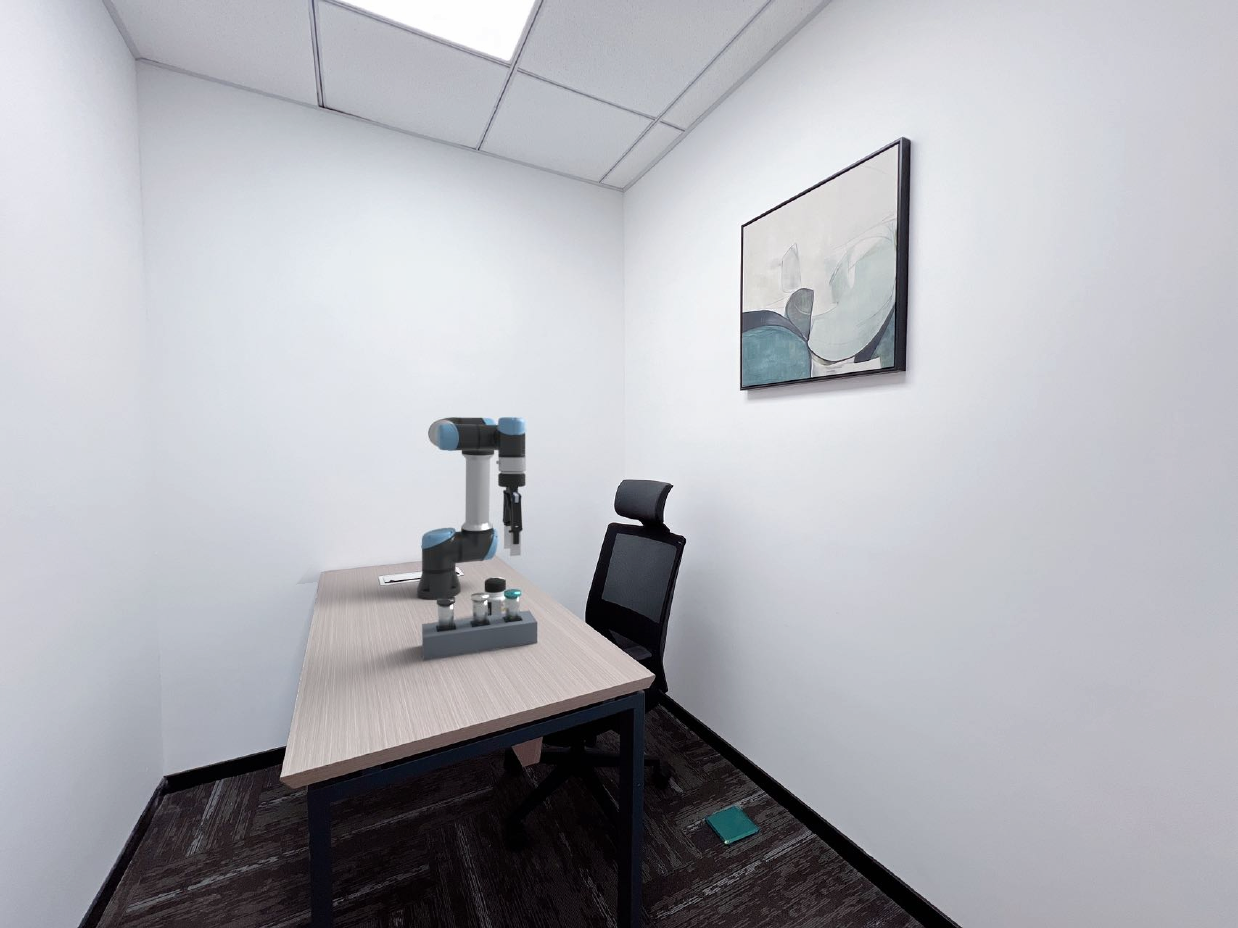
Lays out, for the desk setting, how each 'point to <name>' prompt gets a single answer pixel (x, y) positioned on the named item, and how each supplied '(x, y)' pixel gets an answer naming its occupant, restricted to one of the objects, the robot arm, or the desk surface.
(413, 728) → the desk surface
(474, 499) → the robot arm
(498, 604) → the container
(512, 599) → the knob teal
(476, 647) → the mount
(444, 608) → the knob black
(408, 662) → the desk surface
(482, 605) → the knob ivory
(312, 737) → the desk surface
